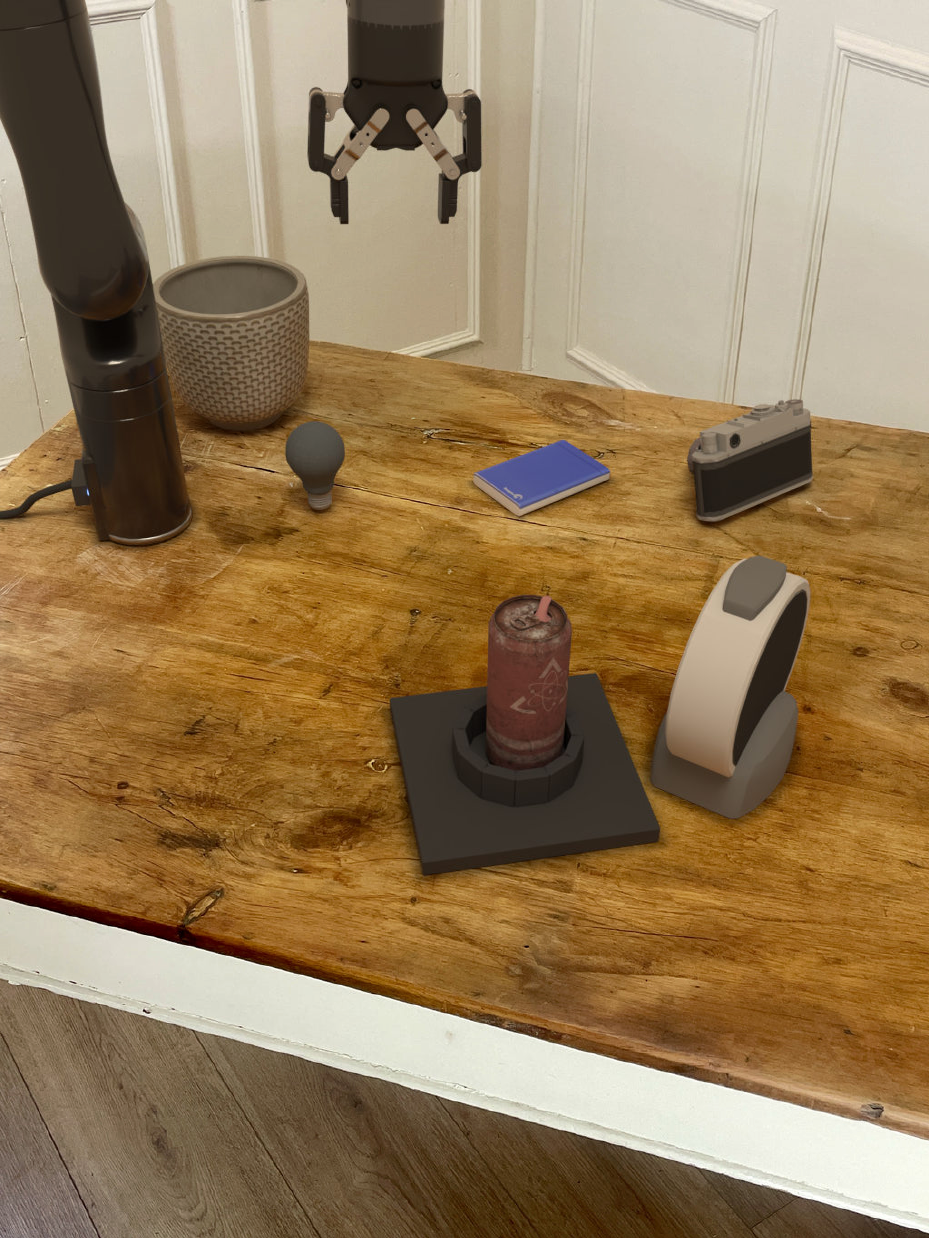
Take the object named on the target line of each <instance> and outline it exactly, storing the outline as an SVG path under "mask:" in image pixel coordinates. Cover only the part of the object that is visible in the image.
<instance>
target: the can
mask: <svg viewBox="0 0 929 1238" xmlns="http://www.w3.org/2000/svg"><path fill="white" fill-rule="evenodd" d="M487 627H488V628H487V629H488V631H487V632H488V633H487V673H486V674H487V677H486V678H487V679H486V680H487V681H486V686H487V722H486V753H487V755H488V757H489V759H490V761H491V762H492V763H493V764H494V765H495V766H499V767H503V768H507V769H511V770H515V771H518V770H526V769H533V768H541V767H545V766H546V765H548V764H549V763H551V762H552V761H554V760H556V759H557V758H559V757H560V756H562V753H563V742H564V729H565V716H566V703H567V690H568V677H569V676H570V664H571V663H570V662H571V649H572V637H573V627H572V622H571V620H570V618H569V616H568V613H567V611H566V609H565V608H564V607H563V606H562V604H560V603H559V602H557V601H556V600H554V599H553V598H552V597H551V596H550V595H538V594H520V595H515V596H511V597H509V598H507V599H504V600H502V601H501V602H500V603H499V604H498V605H497V606H496V607H495V610H494V611H493V613H492V615H491V617H490V619H489V620H488V625H487Z"/></svg>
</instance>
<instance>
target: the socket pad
mask: <svg viewBox="0 0 929 1238" xmlns="http://www.w3.org/2000/svg"><path fill="white" fill-rule="evenodd" d="M389 711H390V716H391V721H392V727H393V732H394V737H395V742H396V746H397V752H398V757H399V761H400V762H399V763H400V767H401V772H402V777H403V783H404V787H405V792H406V796H407V797H406V798H407V802H408V808H409V812H410V818H411V823H412V828H413V833H414V837H415V843H416V847H417V853H418V857H419V863H420V867H421V873H422V876H430V875H437V874H443V873H450V872H451V873H452V872H457V871H465V870H472V869H479V868H484V867H485V868H486V867H490V866H491V867H492V866H498V865H500V866H501V865H506V864H513V863H520V862H526V861H534V860H541V859H546V858H554V857H561V856H562V857H563V856H569V855H574V854H575V855H576V854H581V853H590V852H595V851H605V850H609V849H616V848H623V847H632V846H639V845H645V844H652V843H658V842H659V839H660V833H661V827H660V824H659V822H658V820H657V817H656V815H655V812H654V810H653V807H652V806H651V803H650V799H649V798H648V795H647V793H646V791H645V788H644V785H643V783H642V781H641V778H640V776H639V773H638V771H637V768H636V766H635V764H634V761H633V759H632V756H631V754H630V751H629V749H628V746H627V744H626V742H625V739H624V737H623V735H622V732H621V730H620V729H621V728H620V727H619V725H618V722H617V720H616V718H615V715H614V712H613V710H612V708H611V705H610V702H609V700H608V698H607V695H606V694H605V690H604V688H603V686H602V684H601V681H600V679H599V676H598V674H597V672H592V673H584V674H576V675H575V674H574V675H569V677H568V690H567V703H566V716H565V729H564V742H563V753H562V756H560V757H559V758H557V759H556V760H554V761H552V762H551V763H549V764H548V765H546V766H545V767H541V768H533V769H526V770H518V771H515V770H511V769H507V768H503V767H499V766H495V765H494V764H493V763H492V762H491V761H490V759H489V757H488V755H487V753H486V722H487V685H486V686H478V687H469V688H460V689H452V690H444V691H443V690H442V691H436V692H435V691H434V692H428V693H420V694H419V693H418V694H411V695H404V696H396V697H390V698H389Z"/></svg>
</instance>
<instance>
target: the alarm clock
mask: <svg viewBox="0 0 929 1238" xmlns="http://www.w3.org/2000/svg"><path fill="white" fill-rule="evenodd" d="M787 570H788V566H787V565H786V563H784V562H782V561H779V560H775V559H772V558H768V557H765V556H763V555H755V556H751V557H748V558H742V559H740V560H738V561H737V562H734V563H732V565H731V566H730V567H729V568H728V569H727V570H726V571H725V572H724V573H723V574H722V576H721V577H720V578H719V580H718V581H717V583H716V584H715V586H714V587H713V589H712V591H711V592H710V593H709V596H708V598H707V600H706V601H705V603H704V605H703V607H702V609H701V611H700V613H699V615H698V617H697V619H696V621H695V624H694V626H693V628H692V631H691V633H690V635H689V638H688V639H687V642H686V645H685V647H684V651H683V654H682V656H681V659H680V661H679V665H678V667H677V670H676V674H675V678H674V681H673V684H672V688H671V691H670V696H669V702H668V706H667V711H666V712H665V714H664V715H663V718H662V720H661V723H660V726H659V728H658V732H657V735H656V738H655V743H654V748H653V752H652V753H653V754H652V759H651V763H650V775H649V776H650V779H649V780H650V783H651V784H652V785H653V787H655V788H657V789H660V790H662V791H664V792H667V793H669V794H671V795H673V796H676V797H678V798H681V799H683V800H686V801H687V802H689V803H692V804H694V805H697V806H699V807H702V808H703V809H706V810H708V811H711V812H713V813H715V814H717V815H721V816H722V817H725V818H726V819H727V818H728V819H729V820H735V819H737V820H738V819H740V818H742V817H744V816H745V815H747V814H749V813H750V812H753V811H754V810H755V809H757V808H758V806H760V805H761V804H762V803H763V802H764V801H765V800H766V799H768V798H769V797H770V796H771V794H773V792H774V791H775V789H776V788H777V786H778V785H779V784H780V783H781V781H782V780H783V779H784V776H785V774H786V772H787V769H788V767H789V764H790V762H791V758H792V754H793V749H794V745H795V739H796V733H797V727H798V718H799V708H798V701H797V700H796V698H795V697H794V696H793V695H792V694H791V693H789V692H787V691H786V688H787V686H788V683H789V680H790V679H791V676H792V672H793V670H794V667H795V663H796V661H797V658H798V655H799V652H800V648H801V645H802V641H803V638H804V634H805V630H806V627H807V621H808V616H809V611H810V604H811V594H812V593H811V588H810V584H809V581H808V579H806V578H805V577H802V576H800V575H796V574H793V573H791V572H788V571H787Z"/></svg>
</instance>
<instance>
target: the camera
mask: <svg viewBox="0 0 929 1238" xmlns="http://www.w3.org/2000/svg"><path fill="white" fill-rule="evenodd" d="M812 455H813V454H812V417H811V411H810V410H809V409H808V408H804V400H802V399H796V398H795V399H789V400H786V401H784V400H779V401H778V403H775V404H767V403H761V404H760V403H759V404H756V405H754V406H753V408H751V409H750V412H748V413H745V414H742V415H740V416H738V417H737V416H736V417H735V418H732V419H730V420H726V421H724V422H722V423H719V424H716V425H714V426H711V427H709V428H706V429H703V430H701V431H699V437H697V438H695V439H694V441H693V442H692V443H691V445H690V447H689V448H688V453H687V457H686V458H687V459H686V463H687V467H688V471H689V472H690V473H691V474H692V475H693V480H694V492H695V505H696V506H695V513H696V515H695V516H696V518H697V519H698V520H699V521H703V522H712V523H717V522H720V521H724V519H726V518H729V517H731V516H733V515H734V516H735V515H736V514H739V513H741V512H743V511H745V510H747V509H750V508H752V507H755V506H757V505H759V504H762V503H764V502H766V501H769V500H771V499H773V498H777V497H778V496H780V495H783V494H785V493H787V492H790V491H792V490H794V489H796V488H797V489H798V488H800V487H802V486H803V485H806V484H809V483H811V482H812V481H813V478H814V475H813V457H812Z"/></svg>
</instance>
